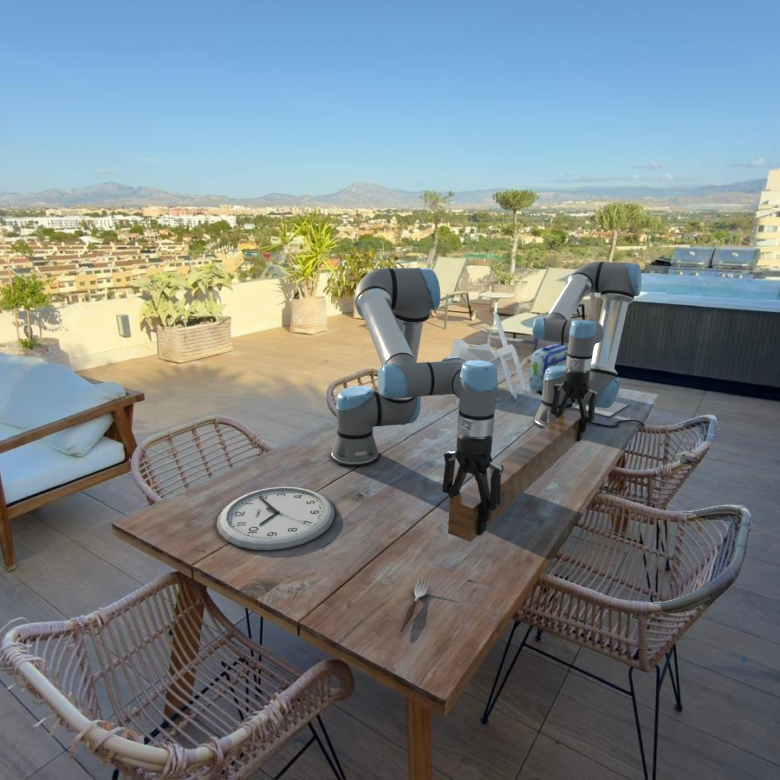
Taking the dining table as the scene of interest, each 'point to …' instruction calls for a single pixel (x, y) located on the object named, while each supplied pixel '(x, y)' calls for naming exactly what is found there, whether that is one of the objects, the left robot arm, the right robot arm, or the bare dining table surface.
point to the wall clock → (275, 518)
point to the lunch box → (545, 363)
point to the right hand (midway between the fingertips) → (569, 437)
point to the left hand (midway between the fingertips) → (468, 527)
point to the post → (515, 474)
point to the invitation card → (607, 409)
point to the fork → (418, 593)
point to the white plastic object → (493, 356)
